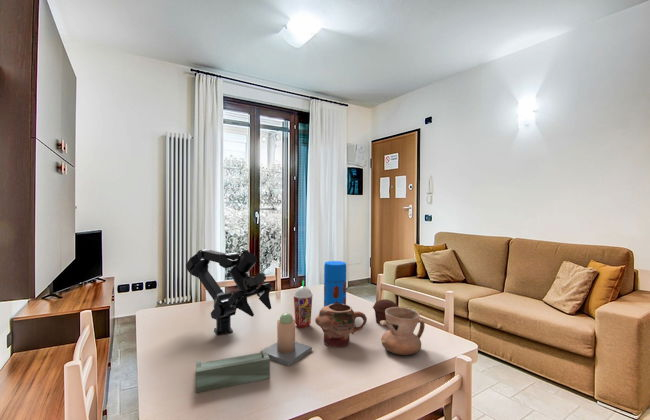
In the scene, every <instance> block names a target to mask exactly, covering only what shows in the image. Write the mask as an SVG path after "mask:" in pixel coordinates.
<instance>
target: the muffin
mask: <svg viewBox="0 0 650 420" xmlns="http://www.w3.org/2000/svg"><path fill="white" fill-rule="evenodd" d="M391 307H399V306H398V305H397V304H396V302H394V300H391V299H386V298H385V299H384V298H383V299H379V300H377V301H376V302H375V303H374V304H373V307H372V309H373V310H374V313H375V314H374V315H375V316H374V317H375V323H376V324H377V325H379V324H380V321H383V320H385V321H386V316H385V310H386V309H388V308H391ZM380 326H382V325H381V324H380ZM384 327H388V326H387V325H384Z"/></svg>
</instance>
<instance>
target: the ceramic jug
mask: <svg viewBox="0 0 650 420" xmlns="http://www.w3.org/2000/svg"><path fill="white" fill-rule="evenodd" d="M385 316H386V321H385V320H383V321H380V324H381V325H380V326H383V325H387V326H386V327H388V329H389V330H387V331H385V332H384V333H382V336H381V338H380V341H381V344H382V347H383V348H384V349H386V350H387V351H388V352H390V353H392V354H394V355H400V356H411V355H414V354H417V353H418V352H420V350H421V349H422V342H421V337H422V336H423V333H424V331H425V321H424V320H423V319H422V318H420V313H419V312H418V311H417V310H416V309H413V308H408V307H403V306H398V307H391V308H388V309H386V310H385ZM418 324H419V329H418V332H417V334H415V333H414V331H415V330H416V328H417V325H418Z"/></svg>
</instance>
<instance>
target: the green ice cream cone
mask: <svg viewBox="0 0 650 420" xmlns="http://www.w3.org/2000/svg"><path fill="white" fill-rule="evenodd" d="M276 325H277V326H276V334H277V336H276V338H277V339H276V340H277V341H276V343H277V350H278V352H280V353H290V352H293V351H294V350H295V342H296V323H295V318H293V315H292V314H291V313H288V312H284V313H282V314H281V315H280V316H279V319H278V320H277V323H276Z"/></svg>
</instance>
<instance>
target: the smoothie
mask: <svg viewBox="0 0 650 420" xmlns="http://www.w3.org/2000/svg"><path fill="white" fill-rule="evenodd" d="M301 283H302V284H301V285H302V286H299V287H297V288H296V290H295V291H294V293H293V305H294V307H293V309H294V320H295V327H298V328H300V329H303V328H304V329H305V328H308V327H309V326H310V324H311V320H312V305H313V293H312V291H311V289H310V288H309V287H308V286H305V280H302V282H301Z"/></svg>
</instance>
